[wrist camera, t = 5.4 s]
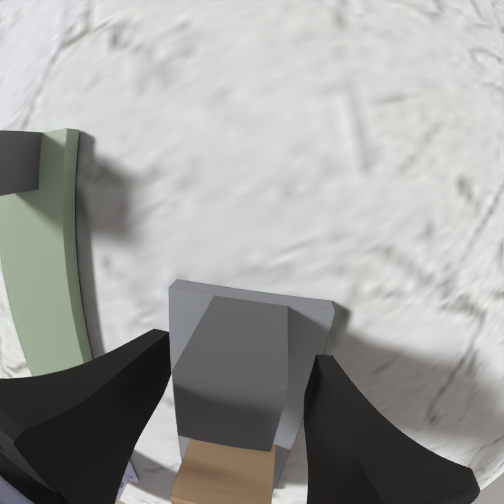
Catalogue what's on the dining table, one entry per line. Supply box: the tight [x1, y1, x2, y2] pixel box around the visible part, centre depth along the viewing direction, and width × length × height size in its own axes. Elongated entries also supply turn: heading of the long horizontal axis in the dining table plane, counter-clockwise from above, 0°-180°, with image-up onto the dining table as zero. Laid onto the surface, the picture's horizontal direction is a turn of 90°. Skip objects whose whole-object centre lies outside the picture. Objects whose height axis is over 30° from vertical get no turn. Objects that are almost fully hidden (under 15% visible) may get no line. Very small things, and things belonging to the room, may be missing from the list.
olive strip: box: [0, 128, 93, 376], centre depth 11 cm, size 18×7×6 cm, turn 174°
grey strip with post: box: [169, 280, 335, 492], centre depth 12 cm, size 18×7×6 cm, turn 174°
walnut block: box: [170, 438, 276, 504], centre depth 12 cm, size 5×5×5 cm
